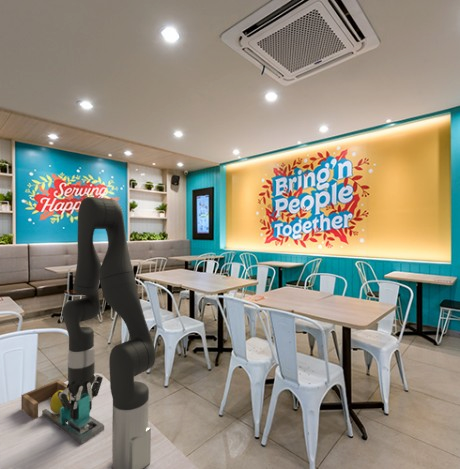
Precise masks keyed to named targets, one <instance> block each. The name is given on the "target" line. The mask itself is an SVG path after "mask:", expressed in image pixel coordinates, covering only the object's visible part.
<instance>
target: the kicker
mask: <svg viewBox="0 0 460 469" xmlns="http://www.w3.org/2000/svg"><path fill="white" fill-rule="evenodd" d="M77 408H78V419H77V420H73V419H72V418H71V417H70V410H67V409H66V408H64V407H61V408H60V414H59V418H60V424H61V425H62V424H64V423H67V424H68V425H69V426H71V427H72V428H74V429H75V430H76V431H78V432H79V433H81V434H82V435H83V434H84V433H86V432H88V431H89V430H91V429H92V428H94V427H93V421H92V420H91V419H90V416H91V415H90V414H91V410H90V395H88V394H86V393H84V394H82V395H81V396H80V400H79V401H78V406H77Z"/></svg>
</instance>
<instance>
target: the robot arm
mask: <svg viewBox="0 0 460 469" xmlns="http://www.w3.org/2000/svg"><path fill="white" fill-rule="evenodd" d="M95 230H105V231H106V235H107V243H108V244H107V250H106V251H105V252H106V253H105V255H104V257H103V260H102V263H101V259H100V257H99V255H98V254H97V250H96V248H95V245H94V234H95ZM73 280H74V282H73V286H72V287H73V292H74V293H75V294H77V295H80V296H85V297H83V298H78V299H73V300H69V301H67V302H66V303H65V304H64V306H63V308H62V312H61V313H62V318H63V321H64V324H65V328H66V331H67V334H68V355H67V381H68V382H67V388H66V389H65V390H64V391H63V392H61V391H60V392H59V393H58V397H59V399H60V401H61V403H62V405H63V407H64V408H66V409H67V410H70V417H71V418H72V419H73V420H77V419H78V408H77V406H78V401H79V400H80V396H81V395H82V394H84V393H86V394H88V395H90V411H91V410H92V409H93V408H92V405H93V403H92V402H93V400H94V398H96V397H97V396H99V392H100V389H101V386H102V381H103V379H104V377H102V376H101V375H99V374H96V375H95V372H96V371H95V368H96V367H95V362H96V361H95V353H96V352H95V347H94V346H95V338H94V337H95V332H94V329H93V328H92V327H90V326H80V323H81V322H87V321H89V320H92V319H95V318H96V317H98V315H99V313H100V311H101V302H100V292H99V290H100V289H99V287H100V288H101V292H102V295H103V296H102V297H103V298H104V300H105V302H106V303H107V304H108V306H109V307H111V309H113V310H114V312H116V314H117V315H118V316H119V317H120V318H121V319H122V321H123V322H124V324H125V326H126V328H127V331H128V334H129V340H127V341H124V342H122V343H121V342H120V343H118V344H116V345H115V346H114V347H112V349H111V350H110V354H109V359H108V360H109V364H108V365H109V366H108V367H109V387H110V394H111V398H112V433H111V434H112V438H111V440H112V447H111V452H112V459H111V461H112V463H111V464H112V469H144V468H146V467H147V466H148V465H150V464H151V454H152V452H151V449H152V448H151V446H152V445H151V444H152V436H151V435H152V429H151V427H149V407H150V406H149V404H150V403H149V402H150V401H149V400H150V399H149V398H150V394H149V393H150V391H149V390H150V389H149V387H148V385H147V384H146V383H144V382H142V381H137V380H136V381H135V377H136V376H138V375H140V374H142V373H144V372H146V371H149V369H151V368H152V367H153V366H154V365H155V362H156V355H157V354H156V349H155V343H154V341H153V338H152V336H151V332H150V329H149V326H148V324H147V320H146V318H145V315H144V311H143V307H142V304H141V303H142V302H141V299H140V296H139V292H138V286H137V281H136V277H135V272H134V269H133V266H132V261H131V256H130V252H129V248H128V243H127V236H126V226H125V219H124V213H123V209H122V205H120V203H119V202H118V201H117V200H115V199H111V198H104V197H94V196H88V197H84V198H83V199H82V200H81V202H80V203H79V207H78V212H77V261H76V269H75V274H74V279H73ZM99 284H100V286H99ZM68 392H70V393H71V395H70V402H69V400H68V398H67V397H68Z"/></svg>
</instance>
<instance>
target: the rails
mask: <svg viewBox="0 0 460 469" xmlns="http://www.w3.org/2000/svg"><path fill="white" fill-rule="evenodd" d="M41 412H42V413H41V415H42V416H43V417H44V418H45V419H47V420H49V422H51V423H52V424H53V425H55V426H56V427H58V428H59V429H60V430H62V431H63V432H64V433H66V434H67V435H69V437H71V438H72V439H74V440H75V441H76V442H78V443H79V444H80V445H82V444H84V443H86V442H87V441H89V440H91V439H92V438H93V437H95V436H97V435H98V434H100V433H101V432H103V431H104V430H105V424H103V423H102V422H101V421H98V420H97V419H95V418H94V417H92V416H91V415H90V419H91V420H92V421H93V427H92V428H91V429H89V430H88V431H86V432H84V433H82V434H81V433H79V432H78V431H76V430H75V429H74V428H72V427H71V426H69V425H68V422H66V423H64V424H62V425H61V424H60V417H58V416H57V415H55V413H54V412H52V411H49V410H48V409H46V408H45V409H43V410H42V411H41Z"/></svg>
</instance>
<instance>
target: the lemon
mask: <svg viewBox="0 0 460 469" xmlns="http://www.w3.org/2000/svg"><path fill="white" fill-rule="evenodd" d="M60 391H61V392H63V391H62V390H59V391H58V392H56V393H55V394H54V395H53V396H52V397H51V398H50V401H49V404H50V405H49V406H50V410H51V412H52V413H53V414H58V415H60V408H61V407H63V405H62V403H61V401H60V399H59V397H58V393H59V392H60ZM67 398H68V400H69V396H68V397H67Z"/></svg>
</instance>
